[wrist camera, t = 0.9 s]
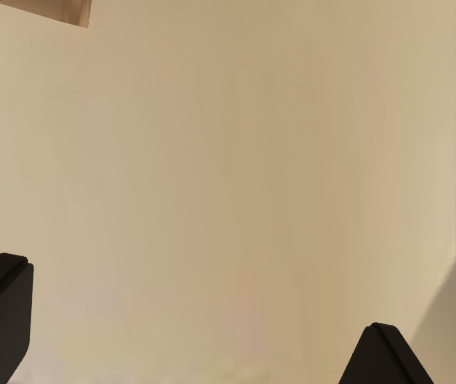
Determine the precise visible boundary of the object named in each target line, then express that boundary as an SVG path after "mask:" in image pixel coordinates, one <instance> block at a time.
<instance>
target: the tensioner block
mask: <svg viewBox="0 0 456 384" xmlns="http://www.w3.org/2000/svg"><path fill="white" fill-rule="evenodd" d="M0 3H1V4H4V5H8V6H11V7H14V8H18V9H21V10H24V11H28V12H31V13H34V14H38V15H41V16H44V17H47V18H51V19H54V20H57V21H61V22H65V23H69V24H73V25H77V26H81V27H85V28H88V23H89V15H90V8H91V0H0Z"/></svg>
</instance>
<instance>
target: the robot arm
mask: <svg viewBox="0 0 456 384" xmlns="http://www.w3.org/2000/svg"><path fill="white" fill-rule="evenodd" d="M33 272H34V266H33V264H30V263H28V259H27V258H26V257H24V256H19V255H13V254H8V253H1V254H0V384H7V382H8V381H9V379H10V378H11V376H12V375H13V373H14V372H15V370H16V369H17V367H18V366H19V364H20V363H21V361H22V359H23V358H24V356H25V354H26V352H27V350H28V347H29V342H30V326H31V308H32V290H33ZM339 384H434V383H433V381H432V380H431V378H430V377H429V375H428V374H427V372H426V371H425V369H424V368H423V366H422V365H421V363H420V362H419V360H418V359H417V357H416V356H415V354H414V353H413V351H412V350H411V348H410V347H409V345H408V344H407V342H406V341H405V339H404V338H403V336H402V335H401V333H400V332H399V330H398V329H397V328H396V327H395V326H393V325H387V324H382V323H377V322H375V323H372V324H371V325H370V326H367V327H366V328H365V329H364V331H363V333H362V335H361V337H360V339H359V342H358V344H357V346H356V348H355V350H354V352H353V354H352V356H351V358H350V360H349V363H348V365H347V367H346V369H345V371H344V373H343V375H342V377H341V379H340V381H339Z"/></svg>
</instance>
